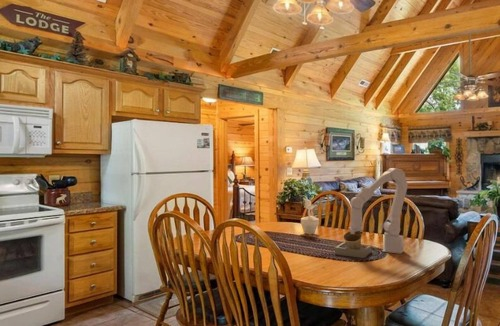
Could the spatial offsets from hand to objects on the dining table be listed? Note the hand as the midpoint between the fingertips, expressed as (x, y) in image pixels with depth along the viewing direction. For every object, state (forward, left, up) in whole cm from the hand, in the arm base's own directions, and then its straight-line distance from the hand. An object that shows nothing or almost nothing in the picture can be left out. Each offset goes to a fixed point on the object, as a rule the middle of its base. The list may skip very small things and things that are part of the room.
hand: (356, 245), depth 201 cm
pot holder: (0, +5, -3) cm, 6 cm away
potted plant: (+39, -29, -3) cm, 49 cm away
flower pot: (0, +3, -2) cm, 3 cm away
